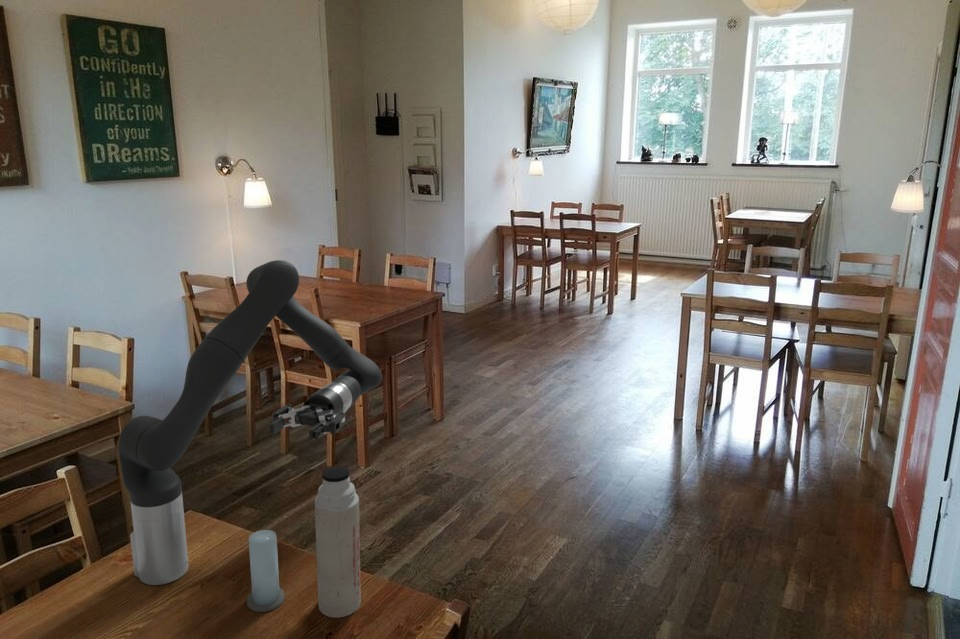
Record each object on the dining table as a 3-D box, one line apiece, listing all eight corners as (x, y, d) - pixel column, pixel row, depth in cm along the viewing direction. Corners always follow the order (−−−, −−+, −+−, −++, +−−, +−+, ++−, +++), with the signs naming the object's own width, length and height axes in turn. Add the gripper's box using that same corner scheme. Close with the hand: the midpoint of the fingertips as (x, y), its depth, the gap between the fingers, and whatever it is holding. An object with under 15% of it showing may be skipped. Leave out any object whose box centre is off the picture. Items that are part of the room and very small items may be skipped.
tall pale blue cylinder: (247, 602, 129) (243, 542, 126) (261, 586, 134) (257, 528, 130) (270, 607, 128) (267, 546, 124) (284, 591, 132) (281, 532, 129)
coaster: (239, 608, 128) (239, 605, 128) (259, 585, 135) (259, 583, 135) (272, 615, 127) (272, 612, 126) (291, 592, 133) (291, 589, 133)
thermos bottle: (366, 594, 133) (364, 464, 126) (351, 620, 126) (348, 484, 119) (328, 587, 135) (324, 459, 128) (311, 614, 127) (306, 478, 120)
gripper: (299, 383, 150) (258, 410, 135) (358, 391, 147) (323, 420, 132) (300, 415, 152) (260, 445, 137) (358, 423, 149) (324, 455, 134)
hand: (291, 432), depth 135 cm, fingers open, 8 cm apart
